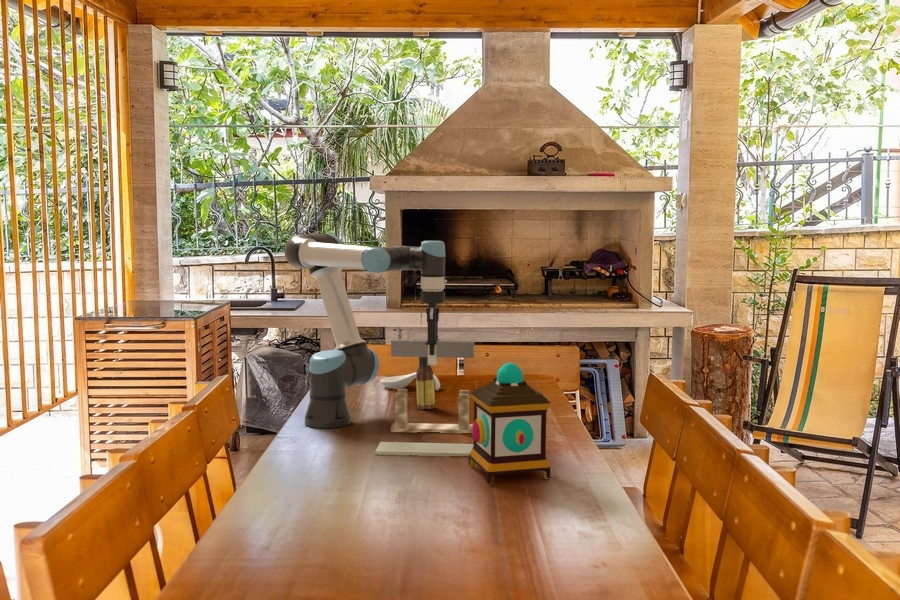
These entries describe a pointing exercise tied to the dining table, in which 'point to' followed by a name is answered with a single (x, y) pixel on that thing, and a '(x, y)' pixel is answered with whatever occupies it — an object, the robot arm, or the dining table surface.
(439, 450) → the mat
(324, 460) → the dining table surface
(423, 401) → the sauce bottle
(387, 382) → the spoon rest
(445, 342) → the rail
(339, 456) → the dining table surface
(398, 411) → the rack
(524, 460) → the decorative lantern
